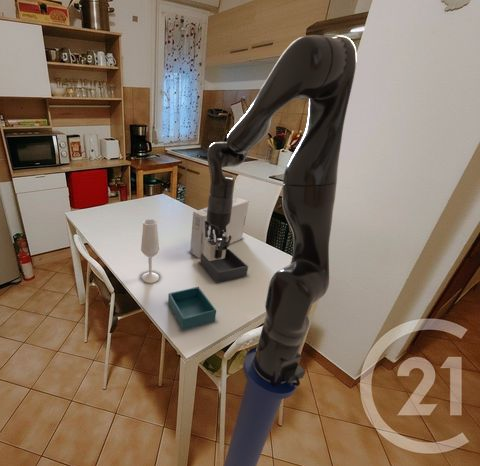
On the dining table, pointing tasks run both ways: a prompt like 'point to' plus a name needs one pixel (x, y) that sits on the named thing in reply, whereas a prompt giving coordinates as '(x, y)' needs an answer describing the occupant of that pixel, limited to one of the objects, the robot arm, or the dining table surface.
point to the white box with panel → (211, 250)
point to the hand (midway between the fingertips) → (214, 254)
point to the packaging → (232, 228)
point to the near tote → (191, 308)
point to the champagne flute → (150, 247)
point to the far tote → (225, 267)
